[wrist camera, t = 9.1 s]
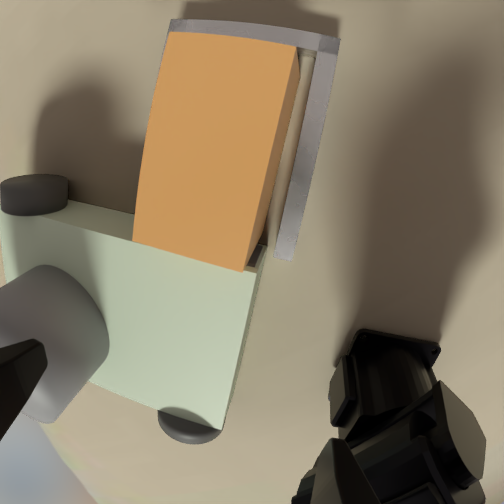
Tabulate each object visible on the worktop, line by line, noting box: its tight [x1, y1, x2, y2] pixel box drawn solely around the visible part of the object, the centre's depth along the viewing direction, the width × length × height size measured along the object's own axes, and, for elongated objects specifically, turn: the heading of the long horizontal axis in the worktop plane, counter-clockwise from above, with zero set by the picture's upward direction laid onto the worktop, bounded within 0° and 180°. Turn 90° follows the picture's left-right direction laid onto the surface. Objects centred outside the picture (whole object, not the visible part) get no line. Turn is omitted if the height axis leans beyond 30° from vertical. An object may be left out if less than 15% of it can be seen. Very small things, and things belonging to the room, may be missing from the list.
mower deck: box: [0, 174, 267, 444], centre depth 17 cm, size 18×15×10 cm
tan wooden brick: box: [132, 32, 300, 273], centre depth 14 cm, size 5×9×6 cm, turn 168°
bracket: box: [157, 19, 341, 261], centre depth 16 cm, size 9×12×2 cm
